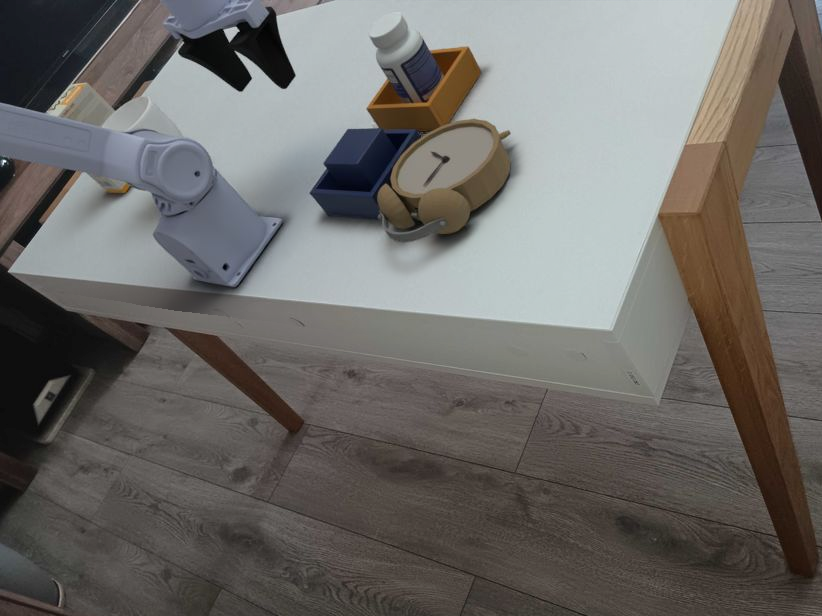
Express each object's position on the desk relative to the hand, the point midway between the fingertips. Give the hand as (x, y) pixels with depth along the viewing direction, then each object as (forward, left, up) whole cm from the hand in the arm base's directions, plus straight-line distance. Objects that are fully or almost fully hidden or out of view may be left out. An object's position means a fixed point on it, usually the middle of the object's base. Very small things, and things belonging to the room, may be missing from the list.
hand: (266, 83), depth 81 cm
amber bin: (+8, -12, -10) cm, 18 cm away
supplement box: (-4, +38, -11) cm, 40 cm away
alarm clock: (-5, -23, -11) cm, 26 cm away
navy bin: (-4, -12, -10) cm, 17 cm away
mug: (-6, +20, -11) cm, 24 cm away
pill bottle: (+8, -12, -10) cm, 18 cm away
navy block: (-4, -12, -10) cm, 16 cm away
